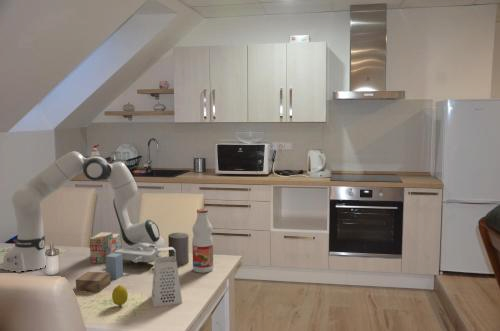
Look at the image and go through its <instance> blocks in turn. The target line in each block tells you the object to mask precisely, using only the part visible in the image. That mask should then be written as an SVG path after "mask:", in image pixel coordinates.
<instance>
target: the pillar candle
mask: <svg viewBox="0 0 500 331" xmlns="http://www.w3.org/2000/svg"><path fill="white" fill-rule="evenodd" d="M167 240H168V241H167V242H168V247H173V248H174V249H175V251H176V261H177V267H178V266H179V265H181V266H186V265H188V264H189V262H190V260H189V258H190V256H189V252H190V251H189V248H190V247H189V246H190V245H189V242H190V241H189V234H188V233H186V232H172V233H170V234H168V238H167ZM175 251H174V250H168V257H171V256H174V257H175ZM187 263H188V264H187ZM185 264H186V265H185ZM179 267H180V266H179Z"/></svg>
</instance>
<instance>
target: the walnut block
mask: <svg viewBox="0 0 500 331" xmlns="http://www.w3.org/2000/svg"><path fill="white" fill-rule="evenodd" d="M110 284H111V279H110V273H106V272H102V271H100V272H99V271H87V272H85V273H84V274H82V275H80V277H77V278H76V279H75V291H76V292H84V291H86V292H85V293H88V292H89V293H101V292H102V291H104V289H105V288H107V287H109V286H110Z"/></svg>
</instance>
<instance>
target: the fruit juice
mask: <svg viewBox="0 0 500 331" xmlns="http://www.w3.org/2000/svg"><path fill="white" fill-rule="evenodd" d="M208 211H209V210H208V209H207V208H198V209H196V215H197V216H196V220H195V222H194V223H193V225H192V228H191V229H192V234H193V236H192V243H191V244H192V269H193V272H196V273H200V274H201V273H203V274H204V273H209V272H211V271H213V270H214V239H213V236H212V234H213V229H214V228H213V225H212V223H211V222H210V220H209V217H208Z"/></svg>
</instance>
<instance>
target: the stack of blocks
mask: <svg viewBox="0 0 500 331" xmlns="http://www.w3.org/2000/svg"><path fill="white" fill-rule="evenodd" d="M121 240H122V239H121V233H113V232H99V233H97V234H96V235H94V236H92V237H90V238H89V252H90V263H91V264H104V263H106V256H107V255H109V254H112V253H114V251H115V250H118V249H121V248H122V243H121V242H122V241H121Z"/></svg>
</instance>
